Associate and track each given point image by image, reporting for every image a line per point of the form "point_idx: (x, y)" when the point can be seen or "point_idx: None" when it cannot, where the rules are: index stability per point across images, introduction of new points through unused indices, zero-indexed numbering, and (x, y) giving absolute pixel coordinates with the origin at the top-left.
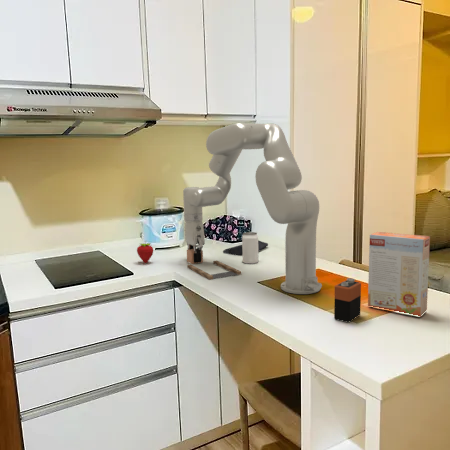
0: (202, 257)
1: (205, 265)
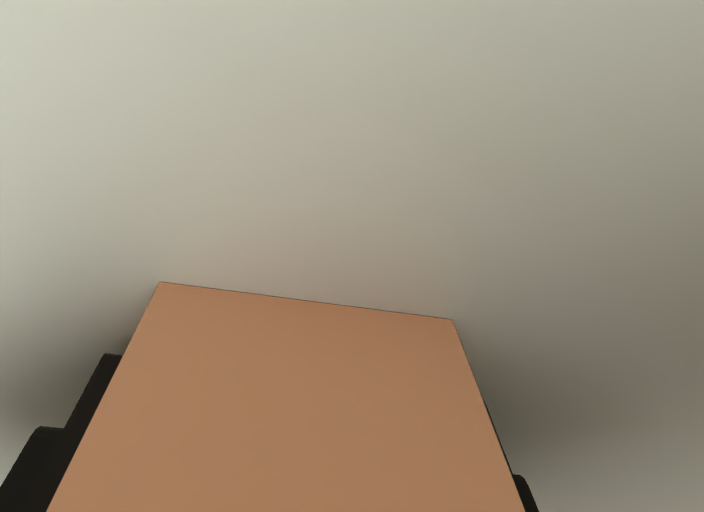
0: (475, 403)
1: (697, 416)
